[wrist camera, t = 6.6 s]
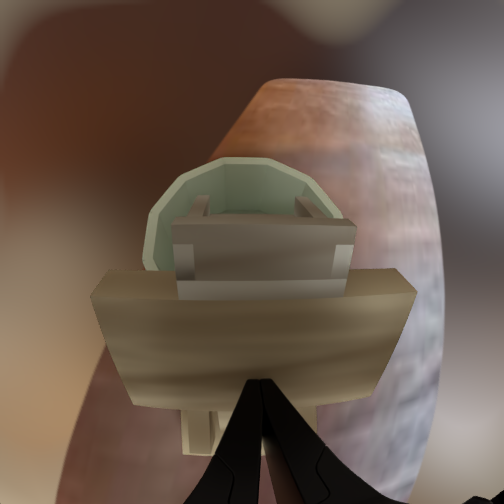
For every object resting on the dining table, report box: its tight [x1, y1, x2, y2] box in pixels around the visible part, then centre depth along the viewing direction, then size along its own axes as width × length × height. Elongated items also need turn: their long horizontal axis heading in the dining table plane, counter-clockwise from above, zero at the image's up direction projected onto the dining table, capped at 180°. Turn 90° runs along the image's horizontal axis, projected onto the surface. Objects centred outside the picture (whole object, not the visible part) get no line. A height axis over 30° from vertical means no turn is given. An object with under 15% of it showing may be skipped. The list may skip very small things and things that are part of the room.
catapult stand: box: [181, 406, 317, 456], centre depth 13 cm, size 5×8×6 cm, turn 92°
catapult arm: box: [90, 195, 417, 438], centre depth 11 cm, size 5×10×11 cm
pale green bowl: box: [142, 157, 343, 271], centre depth 17 cm, size 11×11×6 cm
